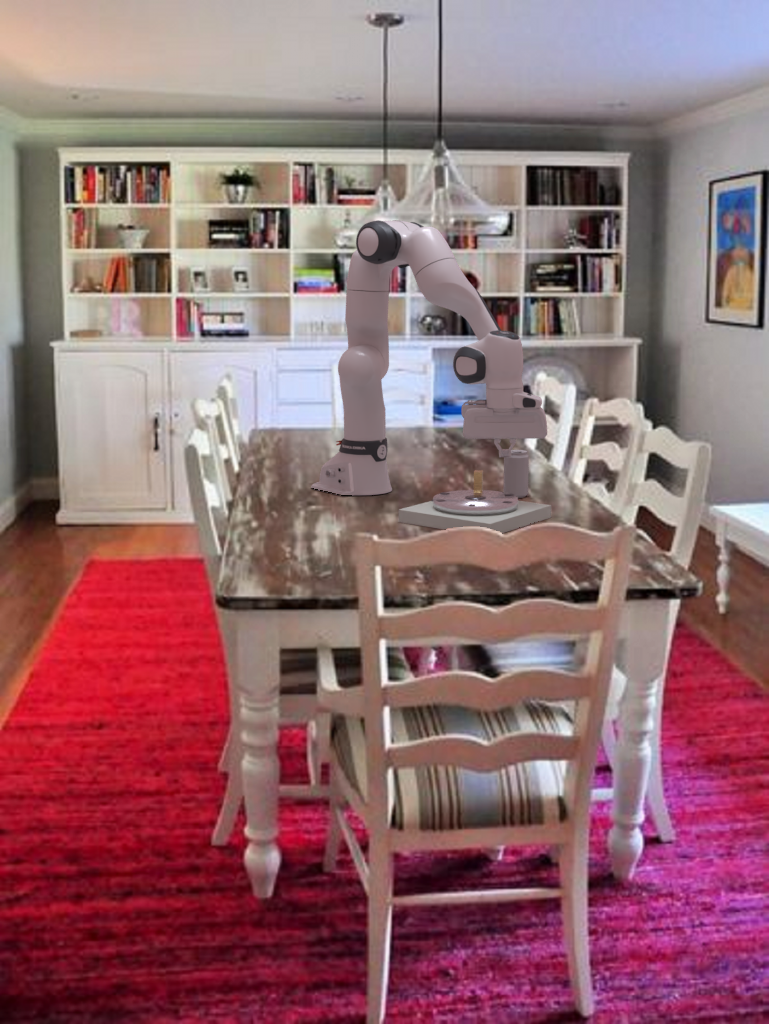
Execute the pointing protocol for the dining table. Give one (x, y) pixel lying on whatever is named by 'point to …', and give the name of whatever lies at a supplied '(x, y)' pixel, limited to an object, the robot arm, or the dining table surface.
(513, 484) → the beverage can
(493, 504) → the turntable disc
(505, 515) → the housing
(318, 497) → the dining table surface
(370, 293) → the robot arm
